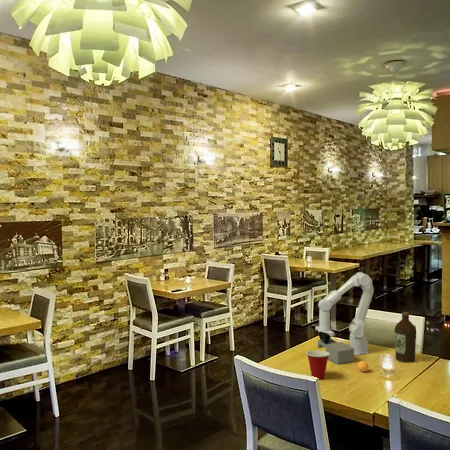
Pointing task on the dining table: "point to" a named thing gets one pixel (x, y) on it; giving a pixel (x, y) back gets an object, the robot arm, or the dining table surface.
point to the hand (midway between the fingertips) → (324, 345)
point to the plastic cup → (318, 363)
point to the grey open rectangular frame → (338, 351)
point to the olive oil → (405, 339)
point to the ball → (362, 366)
